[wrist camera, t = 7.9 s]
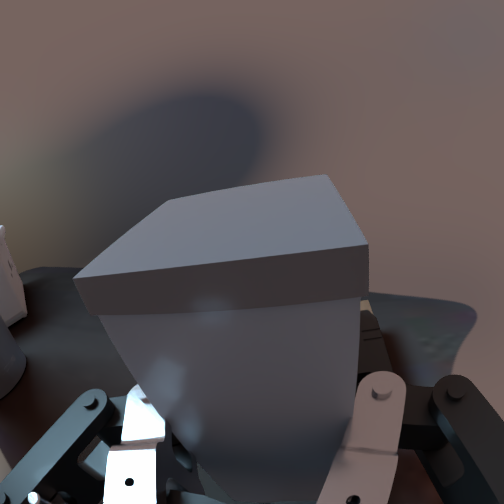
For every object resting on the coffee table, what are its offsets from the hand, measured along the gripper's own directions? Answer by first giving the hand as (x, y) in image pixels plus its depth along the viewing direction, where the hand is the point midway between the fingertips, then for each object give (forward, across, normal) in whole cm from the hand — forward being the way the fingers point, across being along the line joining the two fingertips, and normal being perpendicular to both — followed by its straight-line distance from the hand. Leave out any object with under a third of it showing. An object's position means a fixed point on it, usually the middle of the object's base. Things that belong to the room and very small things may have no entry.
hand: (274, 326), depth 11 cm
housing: (-3, 0, -7) cm, 7 cm away
